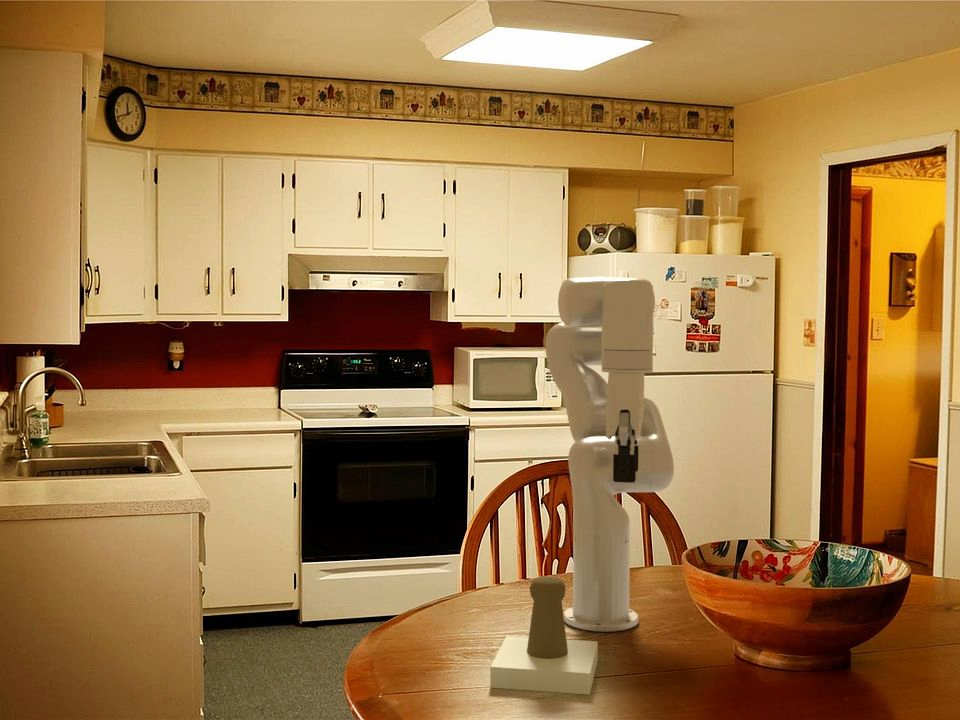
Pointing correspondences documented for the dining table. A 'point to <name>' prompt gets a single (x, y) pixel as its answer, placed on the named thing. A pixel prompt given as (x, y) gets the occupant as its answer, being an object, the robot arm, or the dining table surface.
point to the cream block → (544, 668)
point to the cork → (547, 619)
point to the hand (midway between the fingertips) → (626, 476)
